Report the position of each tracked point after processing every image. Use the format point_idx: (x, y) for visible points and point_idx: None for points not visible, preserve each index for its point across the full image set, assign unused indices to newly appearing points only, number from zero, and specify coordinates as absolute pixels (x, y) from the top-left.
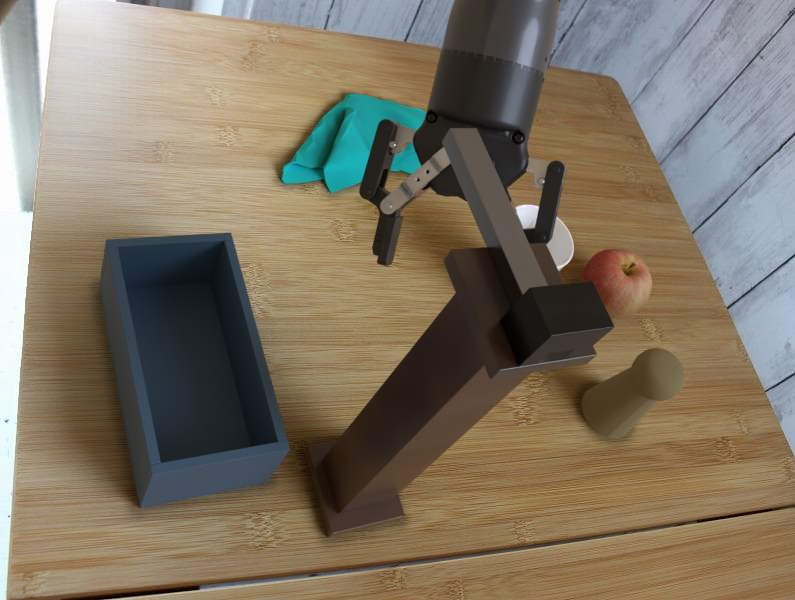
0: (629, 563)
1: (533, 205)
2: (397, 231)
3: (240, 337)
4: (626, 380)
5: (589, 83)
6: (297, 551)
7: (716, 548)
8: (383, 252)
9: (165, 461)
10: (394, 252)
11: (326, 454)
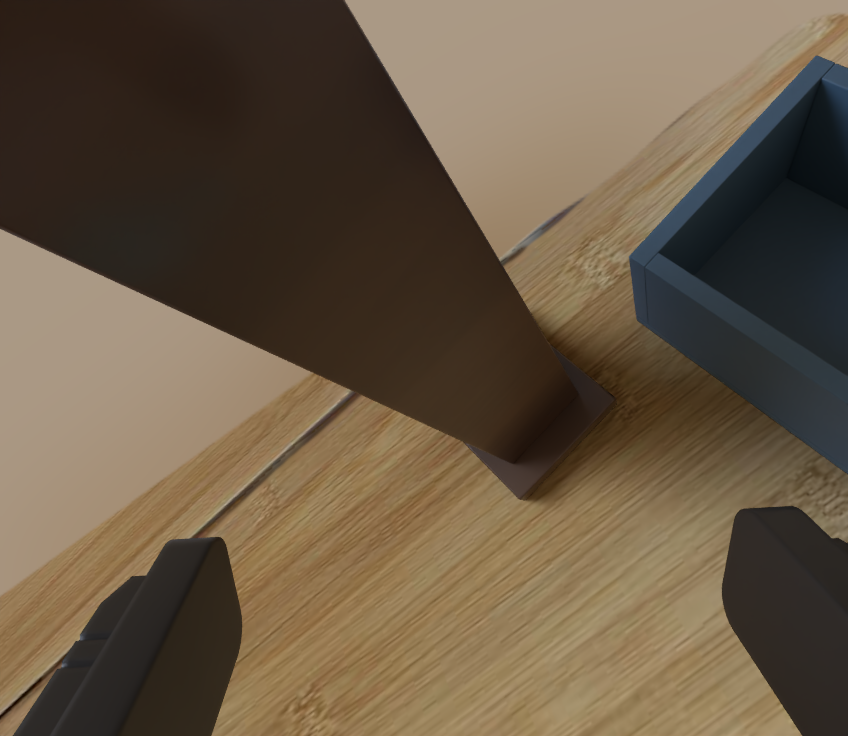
0: (126, 548)
1: None
2: (838, 722)
3: None
4: None
5: None
6: (536, 271)
7: (19, 649)
8: (804, 535)
9: (806, 229)
10: (750, 643)
11: (575, 389)
